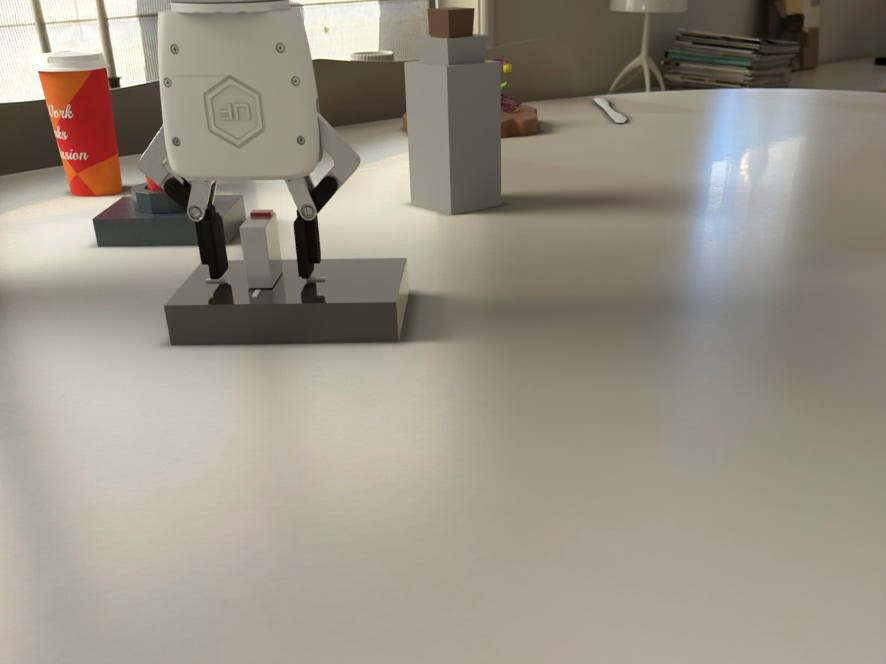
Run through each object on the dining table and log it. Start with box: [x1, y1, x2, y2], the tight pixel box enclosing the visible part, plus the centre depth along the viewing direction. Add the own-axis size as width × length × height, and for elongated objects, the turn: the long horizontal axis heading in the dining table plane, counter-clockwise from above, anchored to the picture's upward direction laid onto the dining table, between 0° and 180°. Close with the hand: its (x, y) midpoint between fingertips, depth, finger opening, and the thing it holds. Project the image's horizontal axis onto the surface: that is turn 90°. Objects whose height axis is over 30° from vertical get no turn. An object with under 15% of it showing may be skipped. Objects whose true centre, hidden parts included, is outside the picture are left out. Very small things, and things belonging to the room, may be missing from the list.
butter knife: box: [593, 97, 628, 124], centre depth 168 cm, size 1×27×3 cm
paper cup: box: [33, 50, 123, 198], centre depth 116 cm, size 8×8×14 cm
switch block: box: [91, 179, 247, 248], centre depth 101 cm, size 12×10×4 cm
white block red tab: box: [239, 209, 283, 288], centre depth 76 cm, size 5×2×4 cm, turn 0°
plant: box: [402, 56, 539, 139], centre depth 153 cm, size 20×20×11 cm
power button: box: [145, 166, 187, 191], centre depth 100 cm, size 4×4×2 cm
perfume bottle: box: [403, 6, 502, 216], centre depth 107 cm, size 7×7×18 cm
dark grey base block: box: [163, 257, 410, 346], centre depth 78 cm, size 16×12×3 cm
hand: (263, 271), depth 77 cm, fingers open, 5 cm apart
